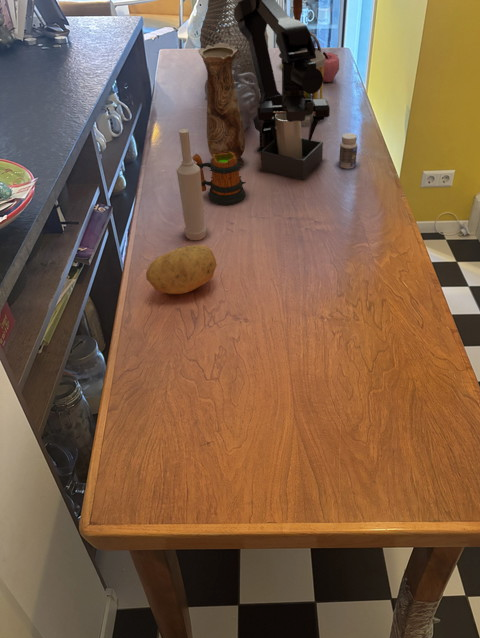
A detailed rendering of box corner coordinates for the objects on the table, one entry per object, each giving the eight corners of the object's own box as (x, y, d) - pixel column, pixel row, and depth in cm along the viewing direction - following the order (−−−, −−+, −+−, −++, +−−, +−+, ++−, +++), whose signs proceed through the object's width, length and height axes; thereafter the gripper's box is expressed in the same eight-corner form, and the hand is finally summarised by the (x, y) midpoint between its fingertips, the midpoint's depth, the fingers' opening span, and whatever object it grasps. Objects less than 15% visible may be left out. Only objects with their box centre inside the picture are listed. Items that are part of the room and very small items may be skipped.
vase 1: (281, 92, 211) (281, -26, 186) (245, 113, 197) (239, -11, 173) (229, 80, 219) (223, -34, 195) (191, 99, 206) (179, -21, 181)
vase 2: (253, 163, 171) (249, 48, 150) (226, 176, 165) (217, 58, 144) (228, 152, 176) (220, 39, 155) (201, 164, 171) (189, 49, 150)
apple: (338, 85, 215) (340, 55, 208) (314, 85, 215) (315, 55, 208) (337, 76, 222) (339, 46, 215) (313, 76, 222) (314, 46, 215)
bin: (260, 170, 168) (260, 151, 164) (281, 152, 176) (281, 133, 172) (303, 180, 164) (303, 160, 160) (322, 160, 172) (323, 141, 168)
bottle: (210, 231, 145) (200, 127, 128) (201, 242, 142) (189, 137, 124) (190, 227, 146) (178, 124, 129) (181, 238, 143) (167, 133, 125)
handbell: (302, 74, 223) (303, -4, 206) (274, 68, 228) (273, -8, 211) (318, 65, 231) (321, -11, 213) (291, 59, 235) (292, -15, 218)
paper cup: (274, 162, 171) (270, 118, 161) (286, 151, 174) (282, 108, 165) (295, 166, 168) (292, 122, 159) (306, 155, 172) (304, 111, 163)
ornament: (199, 137, 184) (192, 69, 170) (226, 113, 197) (221, 48, 184) (252, 145, 179) (250, 76, 166) (276, 120, 193) (276, 54, 179)
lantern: (314, 106, 201) (317, 22, 184) (330, 122, 192) (335, 35, 174) (274, 111, 198) (273, 26, 181) (288, 128, 188) (288, 40, 171)
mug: (246, 186, 161) (244, 144, 153) (246, 205, 154) (244, 162, 146) (197, 187, 161) (192, 145, 153) (195, 206, 153) (190, 163, 145)
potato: (219, 299, 126) (216, 260, 119) (149, 304, 125) (142, 265, 118) (217, 271, 133) (214, 233, 126) (151, 276, 132) (144, 238, 125)
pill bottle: (354, 169, 168) (357, 140, 162) (337, 168, 169) (339, 138, 163) (356, 162, 171) (359, 132, 165) (340, 160, 172) (342, 131, 166)
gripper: (258, 93, 146) (260, 156, 157) (334, 90, 147) (331, 152, 158) (255, 78, 154) (257, 138, 165) (327, 75, 155) (324, 135, 166)
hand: (292, 141), depth 164 cm, fingers open, 9 cm apart
